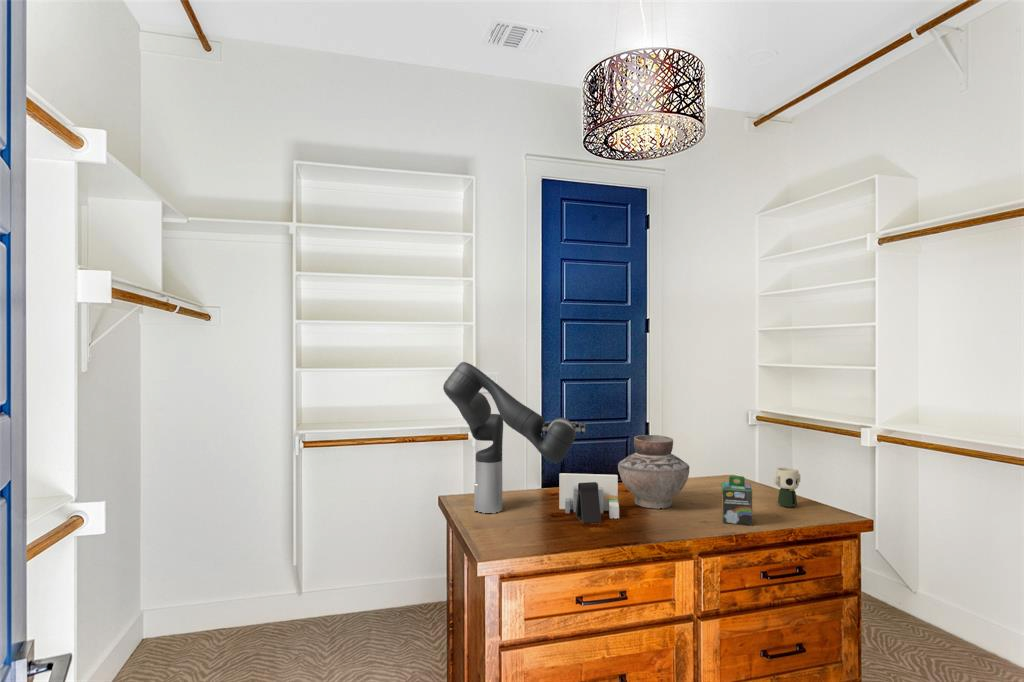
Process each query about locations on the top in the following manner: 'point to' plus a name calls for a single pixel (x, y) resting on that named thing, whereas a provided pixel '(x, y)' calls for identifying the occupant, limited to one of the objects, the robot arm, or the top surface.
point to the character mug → (787, 485)
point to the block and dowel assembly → (601, 496)
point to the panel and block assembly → (572, 480)
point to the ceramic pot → (653, 472)
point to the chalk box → (737, 501)
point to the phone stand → (588, 503)
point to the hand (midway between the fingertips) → (562, 424)
